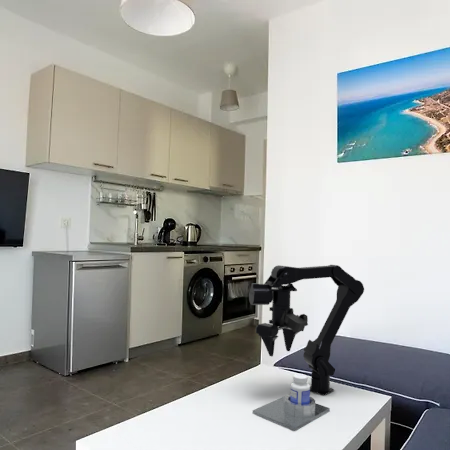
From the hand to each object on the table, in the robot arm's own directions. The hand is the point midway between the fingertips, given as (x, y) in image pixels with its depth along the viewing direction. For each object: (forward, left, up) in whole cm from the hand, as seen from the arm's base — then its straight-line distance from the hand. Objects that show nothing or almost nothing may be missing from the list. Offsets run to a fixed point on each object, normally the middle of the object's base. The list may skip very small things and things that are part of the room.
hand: (279, 353), depth 127 cm
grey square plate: (+9, +11, -13) cm, 19 cm away
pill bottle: (+8, +13, -12) cm, 19 cm away
